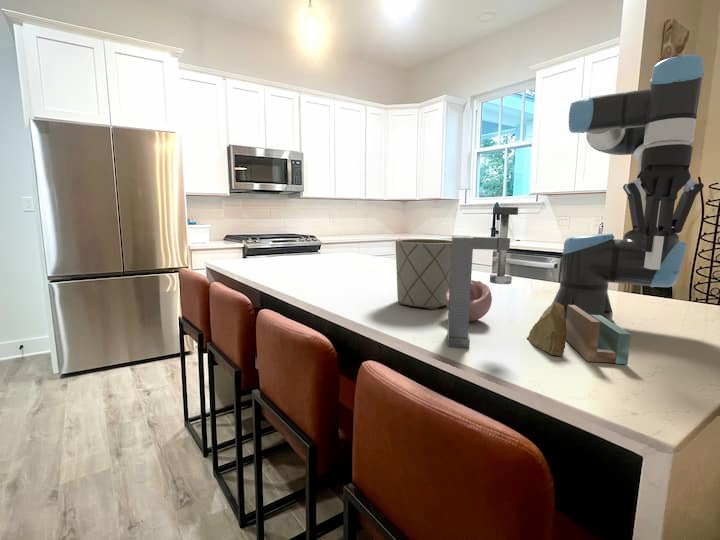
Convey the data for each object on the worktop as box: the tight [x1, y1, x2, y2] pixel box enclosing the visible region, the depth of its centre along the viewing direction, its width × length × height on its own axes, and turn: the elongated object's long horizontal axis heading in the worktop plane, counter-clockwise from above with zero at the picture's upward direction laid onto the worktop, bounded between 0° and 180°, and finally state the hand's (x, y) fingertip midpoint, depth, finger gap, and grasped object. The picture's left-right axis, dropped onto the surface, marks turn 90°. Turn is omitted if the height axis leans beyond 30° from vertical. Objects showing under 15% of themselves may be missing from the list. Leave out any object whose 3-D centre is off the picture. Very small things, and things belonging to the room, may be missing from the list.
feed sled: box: [565, 305, 632, 365], centre depth 80 cm, size 7×14×8 cm, turn 169°
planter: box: [395, 238, 452, 311], centre depth 120 cm, size 19×19×20 cm
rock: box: [526, 300, 567, 357], centre depth 82 cm, size 11×9×10 cm
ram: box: [489, 206, 519, 285], centre depth 81 cm, size 5×5×16 cm
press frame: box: [446, 235, 511, 349], centre depth 84 cm, size 12×9×24 cm
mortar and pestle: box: [445, 279, 493, 322], centre depth 102 cm, size 12×12×12 cm
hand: (651, 268), depth 76 cm, fingers closed
